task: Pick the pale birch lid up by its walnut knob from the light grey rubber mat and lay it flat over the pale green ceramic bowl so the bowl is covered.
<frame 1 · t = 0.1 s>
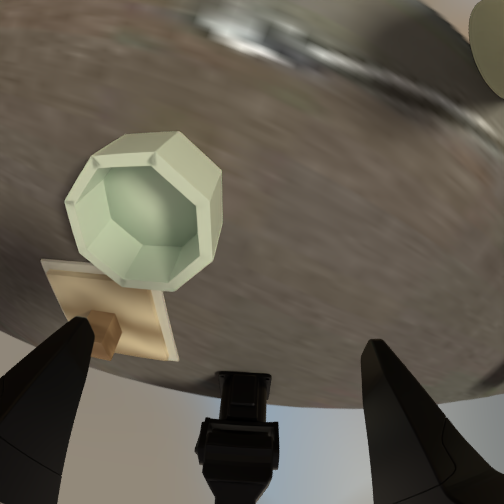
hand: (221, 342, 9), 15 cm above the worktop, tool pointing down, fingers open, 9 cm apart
lid: (109, 315, 30), resting on mat
mat: (110, 313, 30), on the worktop
bowl: (157, 195, 22), on the worktop
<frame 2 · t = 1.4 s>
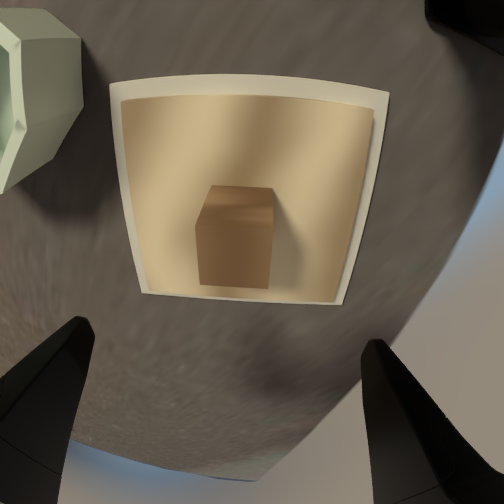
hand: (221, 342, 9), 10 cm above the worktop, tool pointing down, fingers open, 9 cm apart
lid: (242, 206, 16), resting on mat
mat: (242, 203, 17), on the worktop
bowl: (21, 89, 12), on the worktop
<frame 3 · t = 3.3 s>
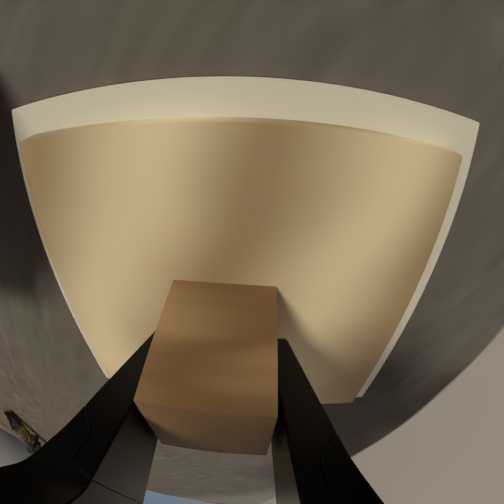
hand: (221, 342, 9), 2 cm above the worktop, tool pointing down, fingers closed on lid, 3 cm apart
lid: (227, 301, 10), resting on mat, touching gripper
knife: (32, 430, 33), on the worktop
mat: (228, 293, 11), on the worktop
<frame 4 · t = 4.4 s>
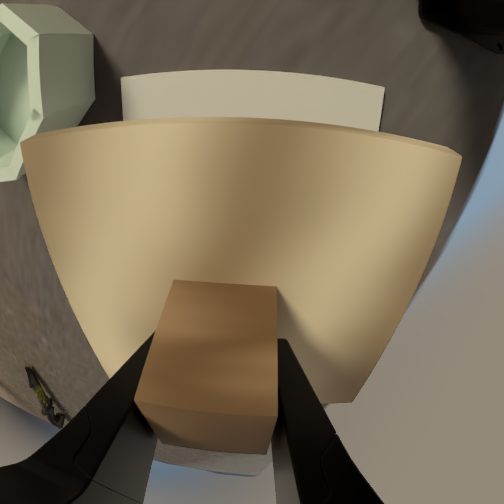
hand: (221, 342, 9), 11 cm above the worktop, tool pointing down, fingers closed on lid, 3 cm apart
lid: (227, 301, 10), point 9 cm above the worktop, touching gripper
knife: (48, 392, 40), on the worktop
mat: (246, 191, 17), on the worktop
bowl: (33, 82, 13), on the worktop
when the fingers open (8 cm above the worktop, at t = 7.0 s): lid drops 2 cm, resting on bowl.
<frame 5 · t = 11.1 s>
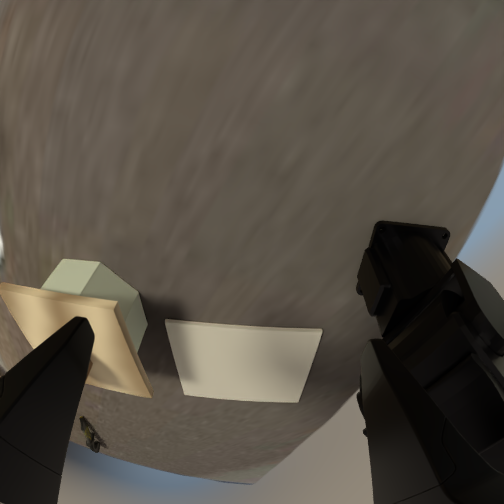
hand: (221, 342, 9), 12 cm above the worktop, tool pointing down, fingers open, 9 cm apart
lid: (76, 343, 22), point 5 cm above the worktop, touching bowl
knife: (91, 429, 53), on the worktop
mat: (241, 368, 30), on the worktop
bowl: (96, 302, 26), on the worktop
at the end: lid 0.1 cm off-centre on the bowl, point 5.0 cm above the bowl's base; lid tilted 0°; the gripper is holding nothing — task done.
